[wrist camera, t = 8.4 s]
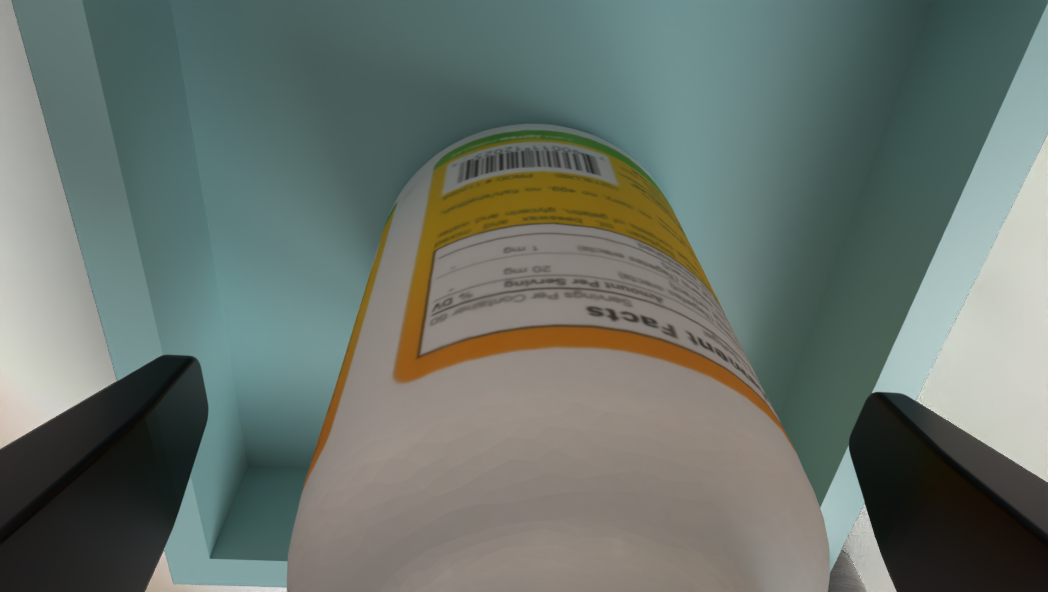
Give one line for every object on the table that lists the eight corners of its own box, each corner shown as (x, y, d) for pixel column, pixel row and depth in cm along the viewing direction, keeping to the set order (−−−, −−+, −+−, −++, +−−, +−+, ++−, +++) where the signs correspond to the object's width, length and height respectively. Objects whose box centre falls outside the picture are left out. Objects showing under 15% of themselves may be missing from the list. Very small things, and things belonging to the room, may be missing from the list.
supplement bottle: (524, 417, 15) (556, 1110, 7) (320, 257, 13) (-7, 993, 4) (735, 262, 13) (1144, 957, 5) (538, 43, 11) (663, 631, 3)
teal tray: (1006, -123, 10) (1171, -116, 8) (768, 492, 17) (815, 602, 15) (92, -221, 9) (-57, -248, 7) (224, 470, 16) (173, 583, 14)
